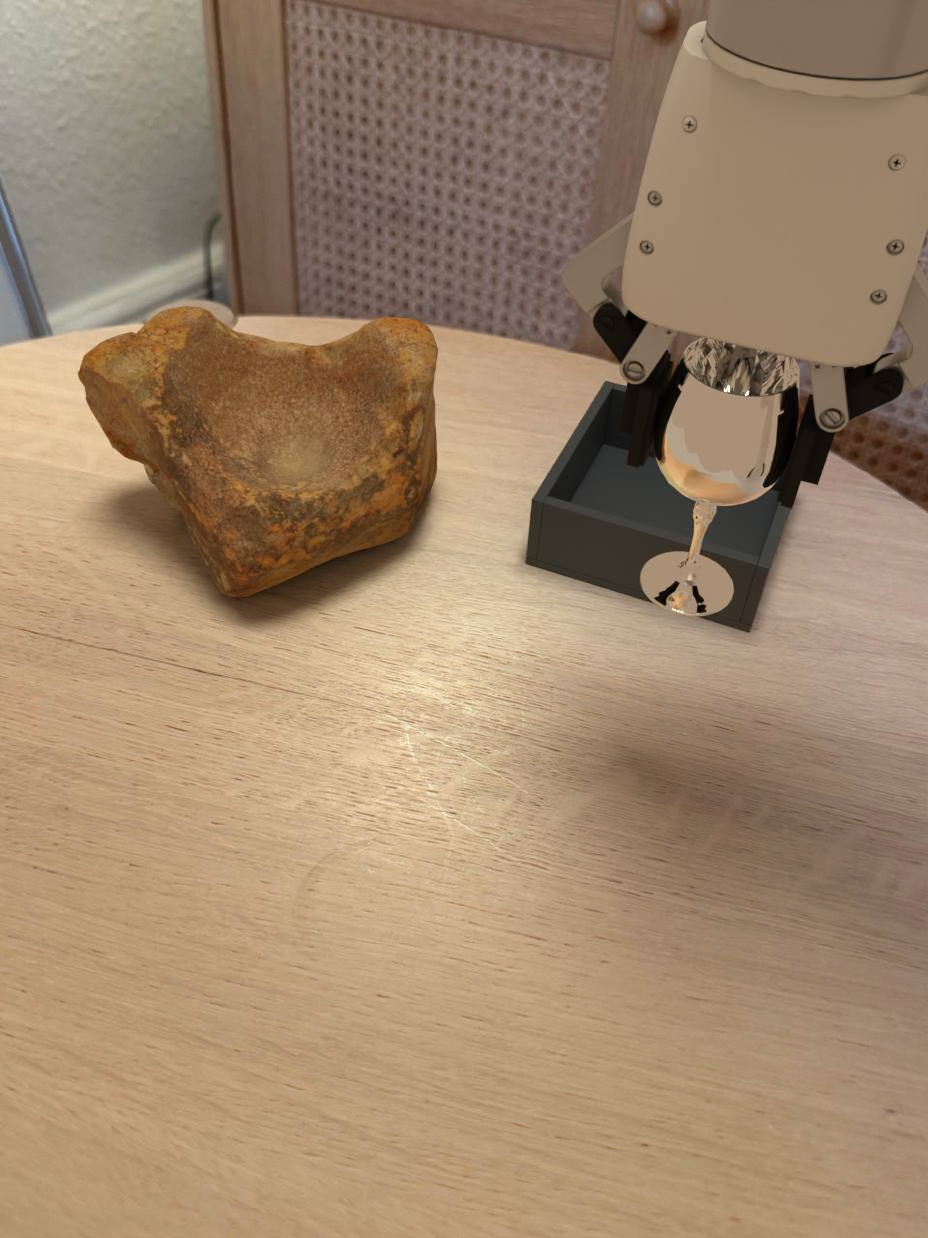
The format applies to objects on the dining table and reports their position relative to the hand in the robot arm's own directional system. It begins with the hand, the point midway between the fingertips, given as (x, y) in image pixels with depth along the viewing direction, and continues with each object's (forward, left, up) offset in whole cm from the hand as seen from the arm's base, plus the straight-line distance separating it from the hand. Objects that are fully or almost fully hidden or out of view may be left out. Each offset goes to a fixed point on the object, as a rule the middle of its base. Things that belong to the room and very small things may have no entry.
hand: (715, 465), depth 47 cm
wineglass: (0, 0, -7) cm, 7 cm away
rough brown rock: (+28, -8, -22) cm, 37 cm away
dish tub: (+4, -21, -22) cm, 31 cm away
